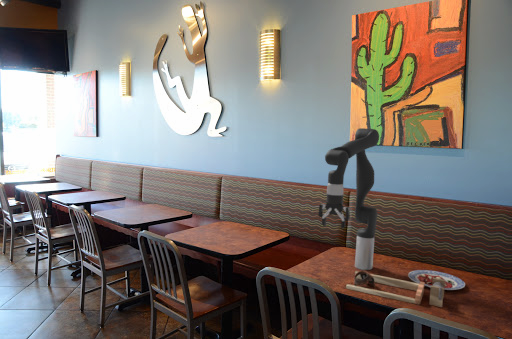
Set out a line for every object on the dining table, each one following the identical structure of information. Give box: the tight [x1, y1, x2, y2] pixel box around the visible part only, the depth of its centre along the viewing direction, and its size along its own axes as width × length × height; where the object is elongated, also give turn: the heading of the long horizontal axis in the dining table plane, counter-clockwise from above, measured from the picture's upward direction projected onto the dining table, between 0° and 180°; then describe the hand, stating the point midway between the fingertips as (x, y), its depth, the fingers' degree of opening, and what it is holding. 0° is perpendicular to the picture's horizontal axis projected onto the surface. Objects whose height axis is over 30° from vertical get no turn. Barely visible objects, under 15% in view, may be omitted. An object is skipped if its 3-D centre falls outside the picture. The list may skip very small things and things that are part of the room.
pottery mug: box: [353, 269, 376, 289], centre depth 190 cm, size 12×10×8 cm
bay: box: [345, 270, 425, 306], centre depth 186 cm, size 18×32×4 cm, turn 62°
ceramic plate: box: [407, 269, 466, 291], centre depth 197 cm, size 26×26×3 cm
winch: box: [428, 278, 445, 308], centre depth 174 cm, size 15×5×9 cm, turn 152°
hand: (333, 227), depth 186 cm, fingers open, 8 cm apart
